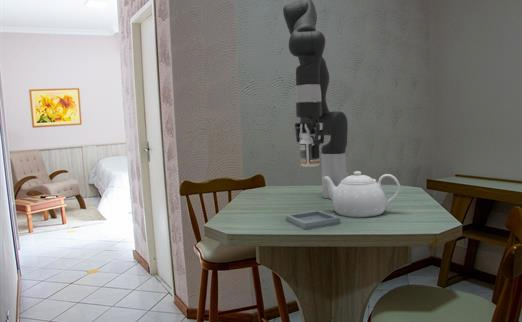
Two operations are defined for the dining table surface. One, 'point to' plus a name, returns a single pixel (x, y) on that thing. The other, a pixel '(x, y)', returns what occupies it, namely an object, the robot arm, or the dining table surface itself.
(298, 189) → the dining table surface
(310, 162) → the pill bottle
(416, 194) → the dining table surface
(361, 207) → the teapot
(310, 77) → the robot arm
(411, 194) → the dining table surface
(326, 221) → the dish
